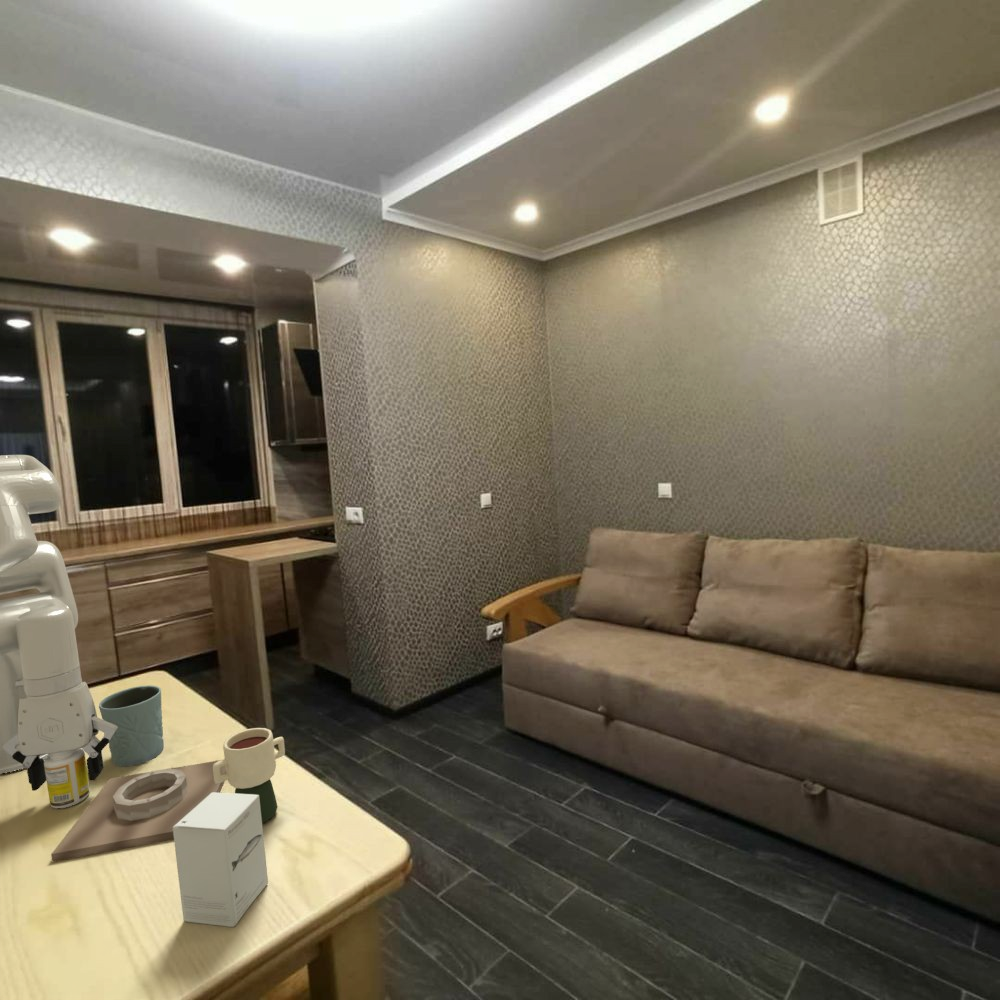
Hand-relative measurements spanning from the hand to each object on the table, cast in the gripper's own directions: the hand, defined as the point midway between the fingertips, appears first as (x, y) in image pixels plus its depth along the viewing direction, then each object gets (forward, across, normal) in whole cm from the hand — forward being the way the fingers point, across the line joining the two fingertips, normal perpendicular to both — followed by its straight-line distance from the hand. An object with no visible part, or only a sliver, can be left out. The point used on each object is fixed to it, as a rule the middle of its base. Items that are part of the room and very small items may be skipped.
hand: (67, 780), depth 100 cm
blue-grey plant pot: (+4, +6, +13) cm, 15 cm away
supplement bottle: (+4, 0, 0) cm, 4 cm away
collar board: (+4, +15, -7) cm, 17 cm away
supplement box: (+4, +32, -33) cm, 46 cm away
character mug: (+4, +32, -15) cm, 36 cm away
